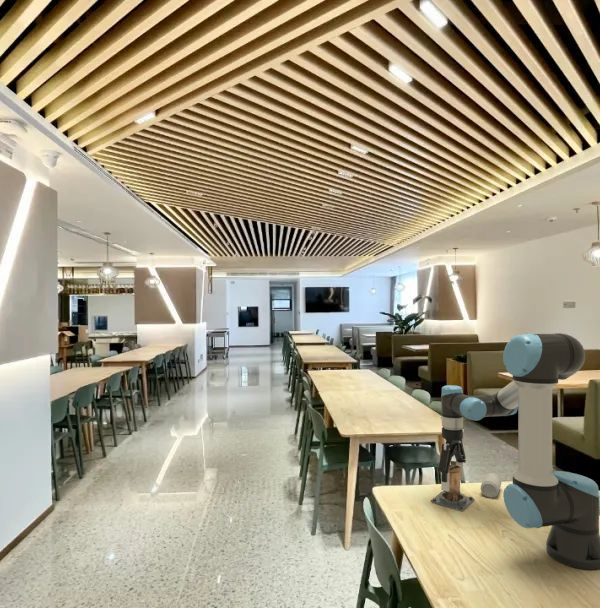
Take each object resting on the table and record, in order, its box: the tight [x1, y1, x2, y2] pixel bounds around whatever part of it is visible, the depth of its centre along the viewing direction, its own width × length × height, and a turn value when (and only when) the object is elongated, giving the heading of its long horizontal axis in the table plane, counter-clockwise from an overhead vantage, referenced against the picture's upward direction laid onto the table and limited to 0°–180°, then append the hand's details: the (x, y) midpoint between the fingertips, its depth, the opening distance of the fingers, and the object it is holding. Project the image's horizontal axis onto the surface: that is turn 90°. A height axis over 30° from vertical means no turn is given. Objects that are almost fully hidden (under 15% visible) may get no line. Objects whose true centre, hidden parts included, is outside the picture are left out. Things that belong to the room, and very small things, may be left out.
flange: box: [430, 490, 476, 512], centre depth 172 cm, size 12×12×2 cm
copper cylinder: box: [445, 464, 461, 500], centre depth 172 cm, size 6×6×12 cm
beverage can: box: [480, 472, 502, 499], centre depth 180 cm, size 6×6×12 cm
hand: (452, 484), depth 172 cm, fingers open, 13 cm apart
